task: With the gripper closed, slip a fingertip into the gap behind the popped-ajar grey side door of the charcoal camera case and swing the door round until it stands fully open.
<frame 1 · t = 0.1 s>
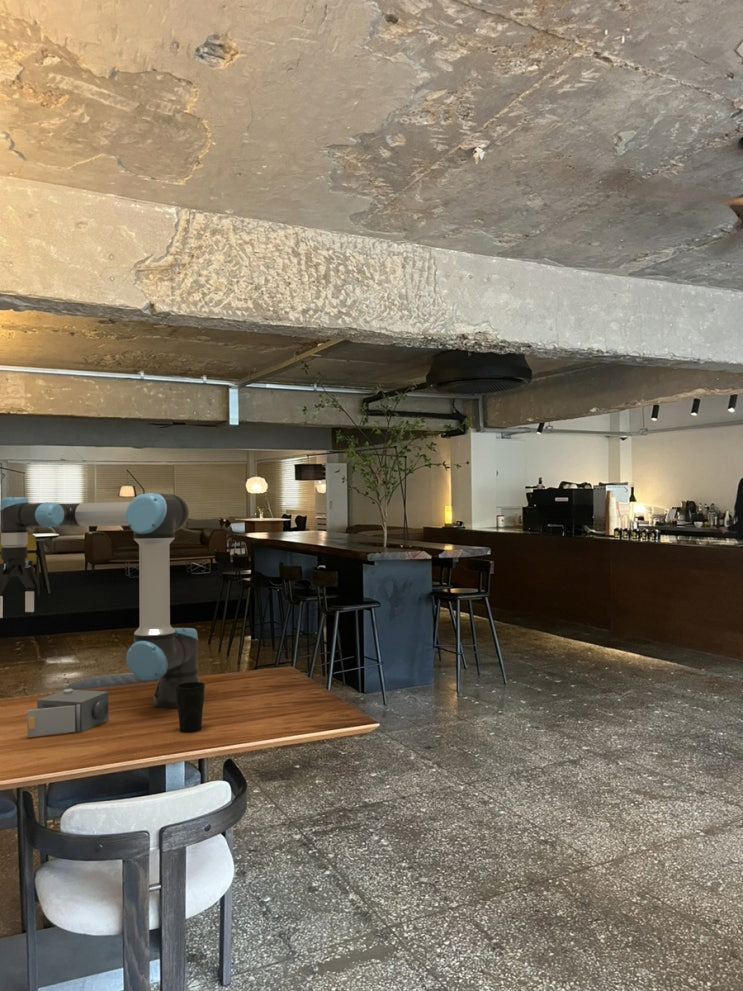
hand: (14, 614, 224), 28 cm above the table, fingers open, 13 cm apart
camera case: (73, 724, 201), on the table
cup: (190, 730, 195), on the table
side door: (51, 721, 191), point 4 cm above the table, hinge at 35.0°
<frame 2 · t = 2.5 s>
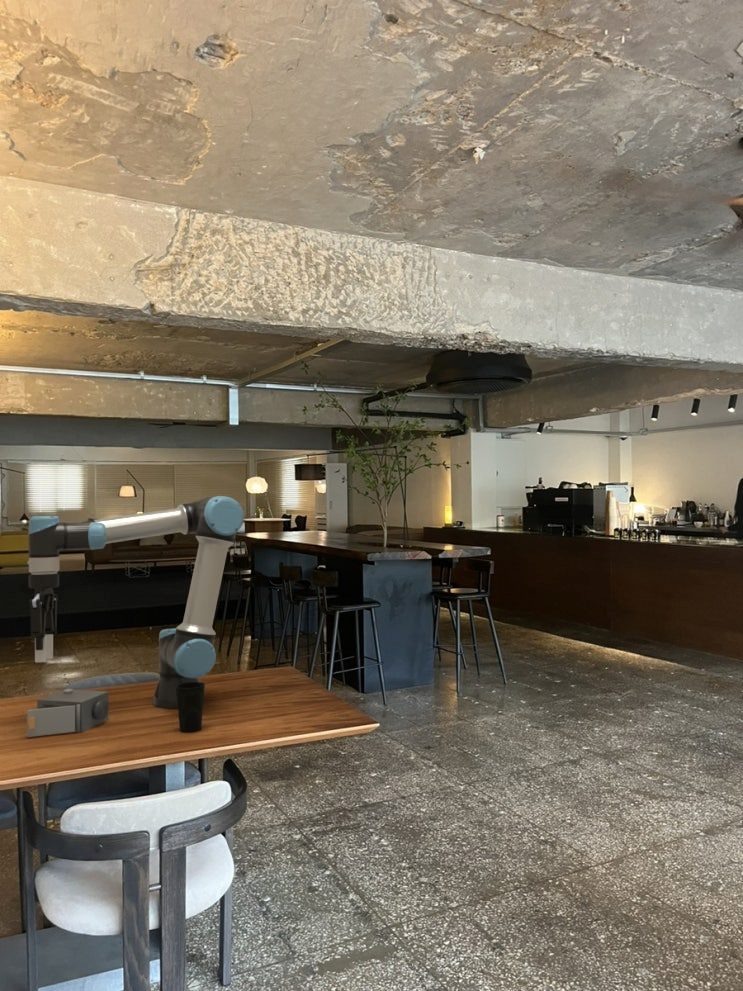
hand: (44, 660, 193), 20 cm above the table, fingers open, 4 cm apart
nothing on the table moved.
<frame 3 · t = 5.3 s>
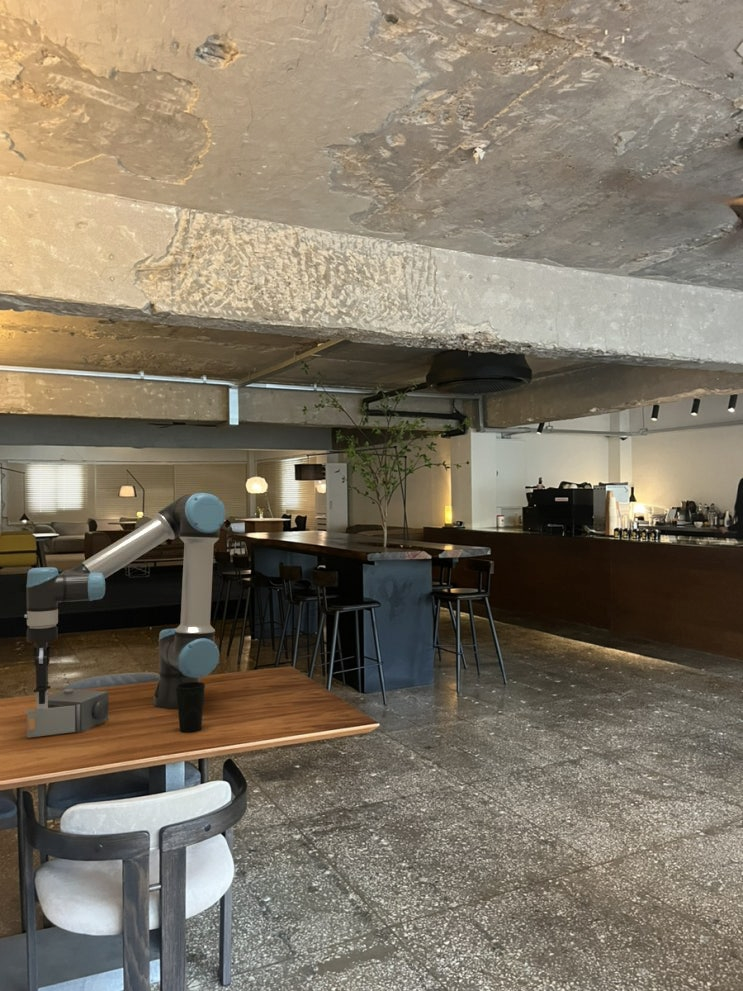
hand: (42, 715, 191), 6 cm above the table, fingers closed
side door: (51, 721, 190), point 4 cm above the table, hinge at 38.1°, touching gripper
everything else where it was.
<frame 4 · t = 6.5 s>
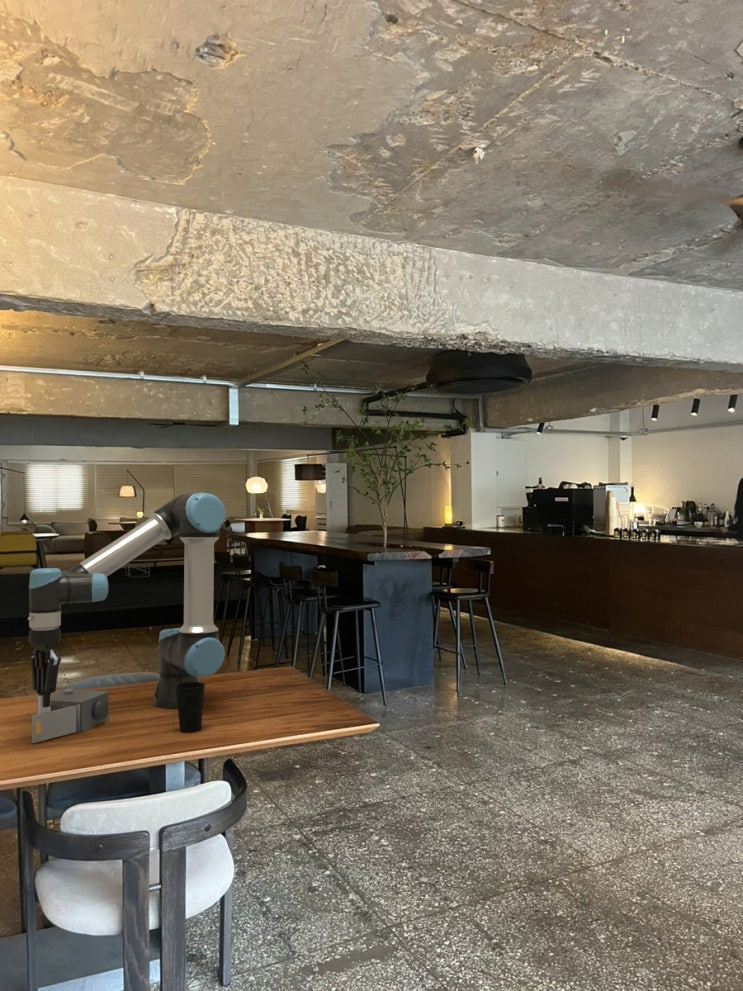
hand: (44, 718, 187), 6 cm above the table, fingers closed
side door: (55, 724, 188), point 4 cm above the table, hinge at 66.0°, touching gripper
everything else where it was.
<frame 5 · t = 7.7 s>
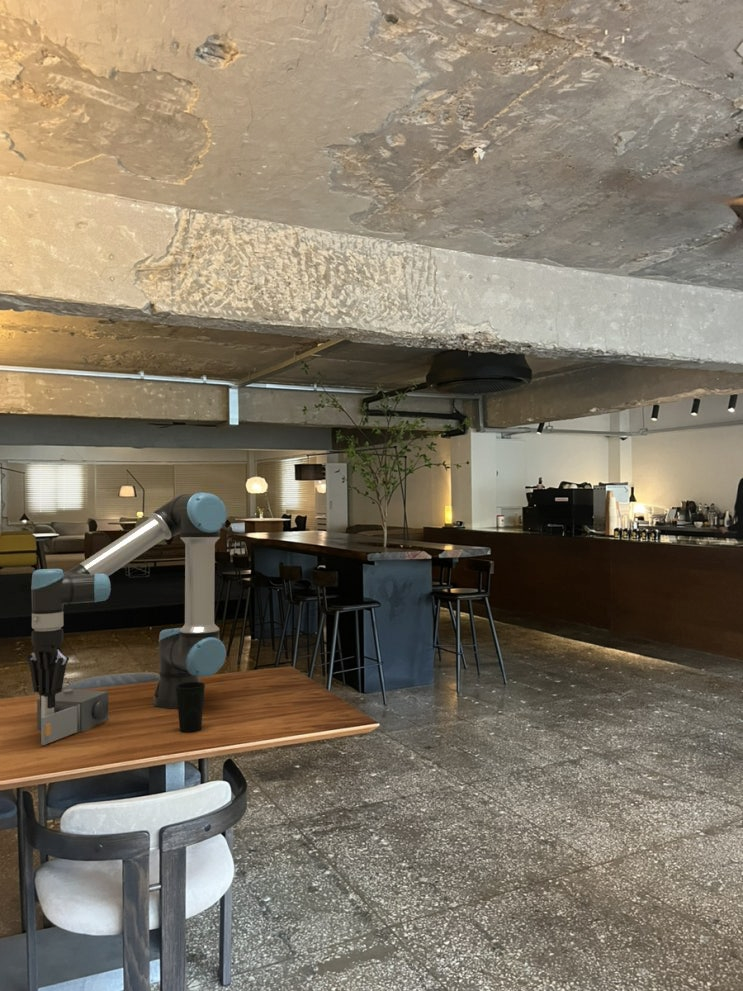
hand: (47, 720, 186), 5 cm above the table, fingers closed
side door: (60, 725, 187), point 4 cm above the table, hinge at 83.9°
everything else where it was.
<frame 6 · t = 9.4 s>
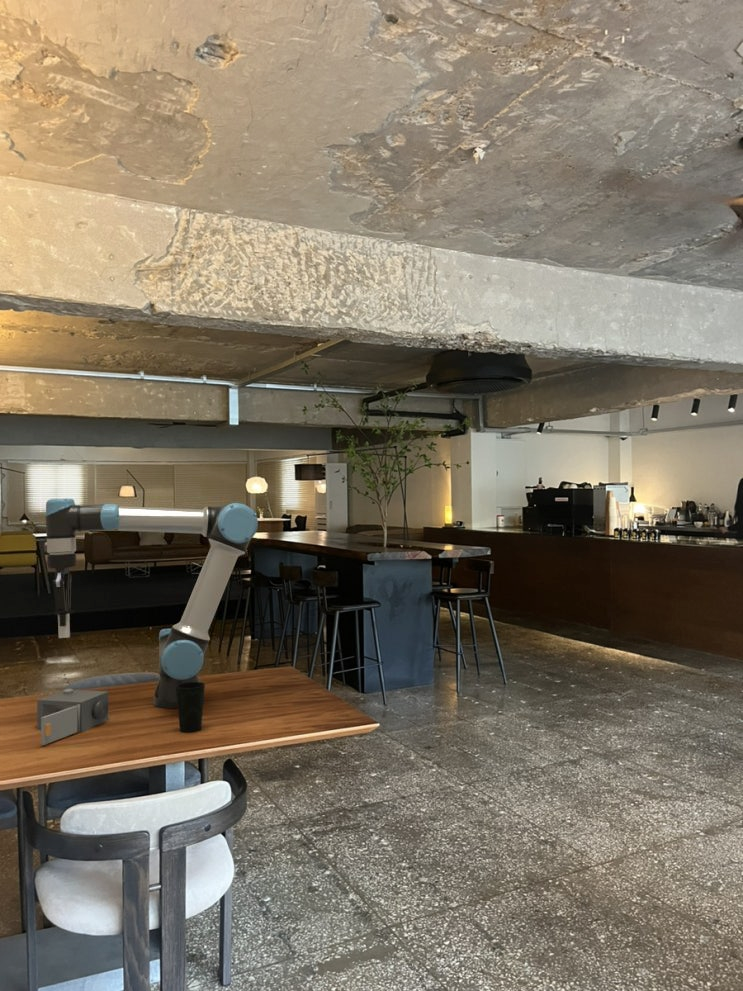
hand: (64, 637, 202), 24 cm above the table, fingers closed
nothing on the table moved.
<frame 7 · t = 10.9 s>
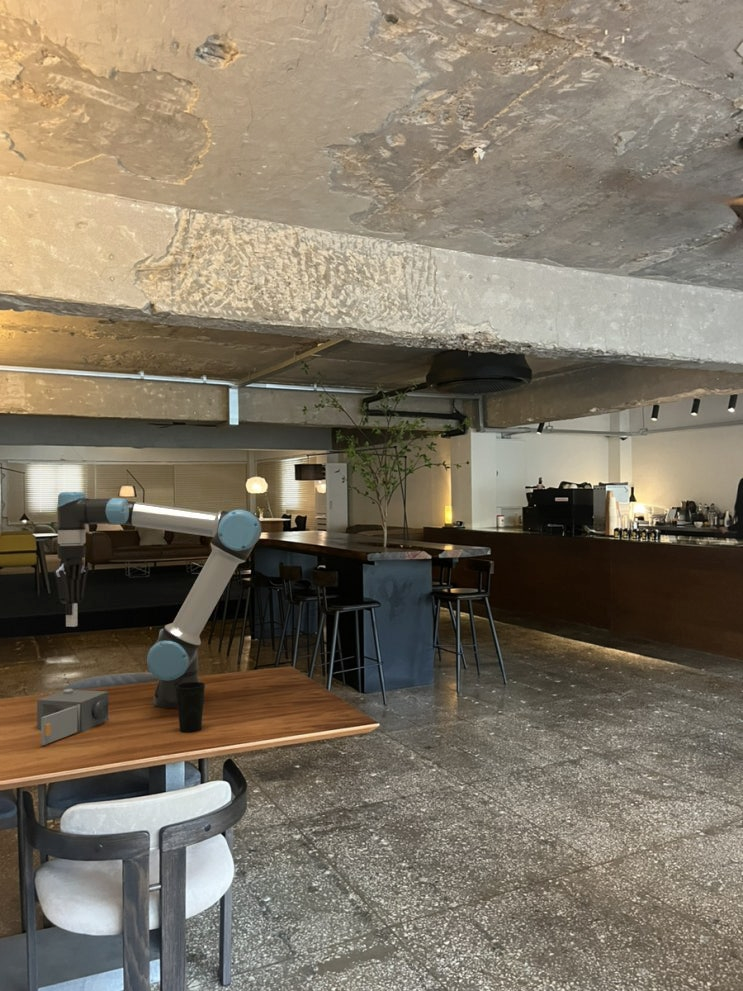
hand: (71, 626, 209), 26 cm above the table, fingers closed
nothing on the table moved.
at the end: side door at +84° (first picture: +35°) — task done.
